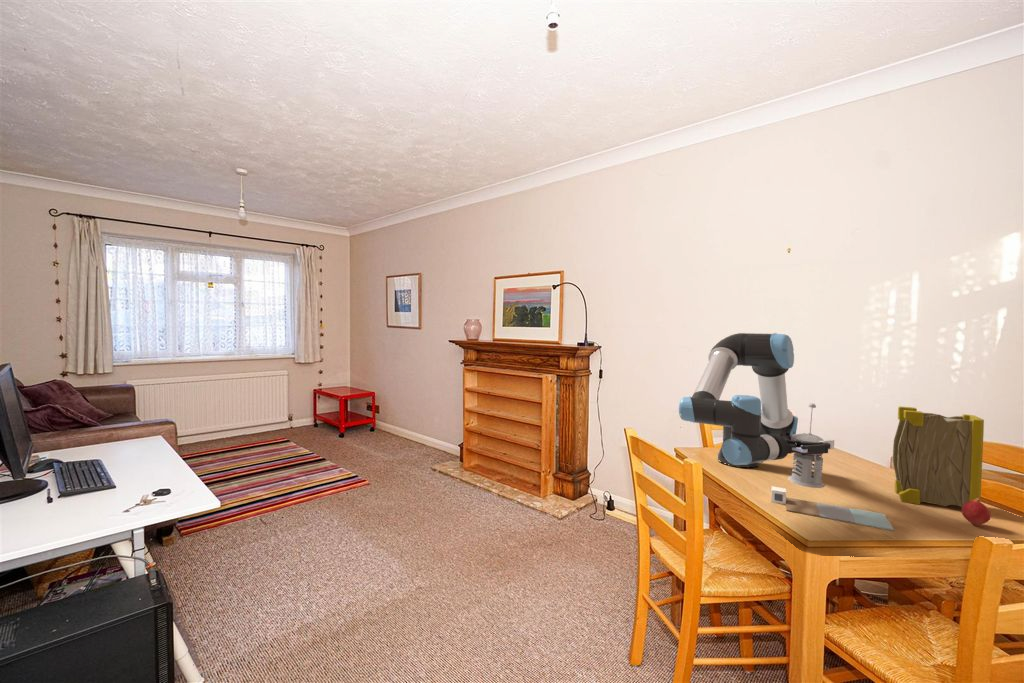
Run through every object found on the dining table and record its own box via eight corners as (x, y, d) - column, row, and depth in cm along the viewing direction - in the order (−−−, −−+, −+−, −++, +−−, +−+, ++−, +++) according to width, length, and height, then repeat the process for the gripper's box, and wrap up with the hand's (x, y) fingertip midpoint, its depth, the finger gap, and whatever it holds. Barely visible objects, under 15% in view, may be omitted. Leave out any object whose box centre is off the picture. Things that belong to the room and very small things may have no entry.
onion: (956, 523, 130) (958, 496, 130) (967, 519, 133) (968, 493, 132) (984, 531, 125) (985, 503, 125) (994, 528, 127) (995, 500, 127)
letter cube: (771, 502, 145) (771, 490, 144) (771, 498, 148) (771, 486, 148) (785, 504, 143) (786, 492, 142) (785, 500, 146) (785, 488, 146)
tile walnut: (786, 510, 137) (786, 509, 137) (785, 498, 148) (785, 497, 148) (819, 517, 133) (819, 515, 133) (816, 503, 144) (816, 502, 144)
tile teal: (855, 523, 129) (855, 522, 129) (848, 509, 139) (848, 508, 139) (893, 530, 125) (893, 529, 125) (883, 515, 135) (883, 513, 135)
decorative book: (970, 503, 145) (974, 411, 144) (982, 515, 136) (986, 417, 135) (890, 491, 156) (893, 405, 155) (896, 501, 147) (900, 410, 146)
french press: (816, 478, 144) (822, 401, 143) (834, 491, 133) (841, 409, 132) (782, 474, 146) (788, 399, 145) (798, 488, 135) (804, 406, 133)
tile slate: (819, 517, 133) (819, 515, 133) (816, 503, 144) (816, 502, 144) (855, 523, 129) (855, 522, 129) (848, 509, 139) (848, 508, 139)
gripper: (738, 450, 142) (787, 444, 151) (802, 470, 123) (854, 461, 132) (739, 427, 142) (787, 422, 151) (803, 443, 123) (855, 436, 132)
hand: (818, 440), depth 141 cm, fingers closed on french press, 8 cm apart
